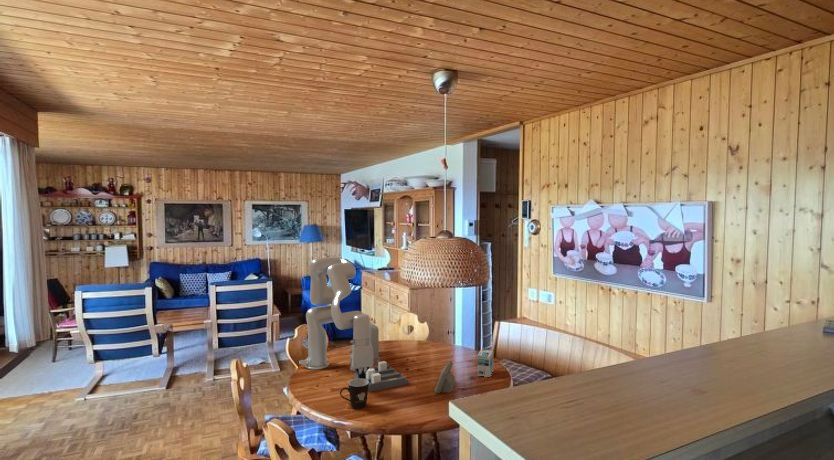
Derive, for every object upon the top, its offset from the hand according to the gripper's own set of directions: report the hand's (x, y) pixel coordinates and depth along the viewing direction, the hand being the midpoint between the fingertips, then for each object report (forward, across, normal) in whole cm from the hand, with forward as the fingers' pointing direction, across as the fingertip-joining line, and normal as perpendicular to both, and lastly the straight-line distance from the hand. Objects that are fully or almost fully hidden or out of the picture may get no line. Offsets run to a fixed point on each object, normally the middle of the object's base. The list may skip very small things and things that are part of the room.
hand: (361, 381), depth 193 cm
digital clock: (+5, +35, -15) cm, 38 cm away
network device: (+4, +19, +42) cm, 46 cm away
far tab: (+2, +16, +14) cm, 21 cm away
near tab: (+2, +7, 0) cm, 7 cm away
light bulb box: (+5, +63, -9) cm, 64 cm away
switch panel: (+4, +12, +7) cm, 15 cm away
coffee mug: (+4, -8, -14) cm, 17 cm away
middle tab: (+2, +7, +7) cm, 10 cm away
